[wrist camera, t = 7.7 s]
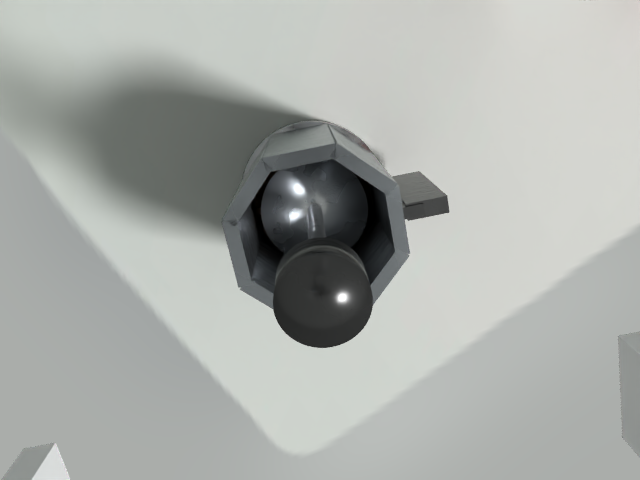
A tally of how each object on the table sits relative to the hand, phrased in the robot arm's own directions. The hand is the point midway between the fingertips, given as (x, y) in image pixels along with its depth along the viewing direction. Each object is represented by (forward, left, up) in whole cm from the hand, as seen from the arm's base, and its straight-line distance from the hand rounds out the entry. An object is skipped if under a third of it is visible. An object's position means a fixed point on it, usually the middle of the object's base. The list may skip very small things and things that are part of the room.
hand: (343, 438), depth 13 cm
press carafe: (+1, +1, -31) cm, 31 cm away
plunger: (+1, 0, -26) cm, 26 cm away
